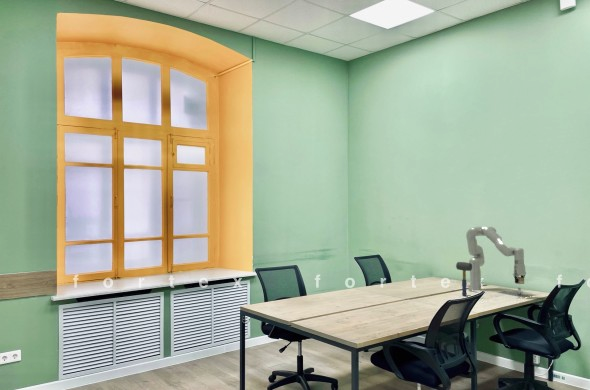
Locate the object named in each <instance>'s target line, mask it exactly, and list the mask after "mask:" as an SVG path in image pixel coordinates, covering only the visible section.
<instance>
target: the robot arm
mask: <svg viewBox="0 0 590 390" xmlns="http://www.w3.org/2000/svg"><path fill="white" fill-rule="evenodd" d="M481 236H485V237H486V238H487V239H489V240H490V242H492V243H493V244H494V246H495V248H496V249H497V250H498V251H499V252H500V253H501V254H502V255H503V256H504V257H513V256H514V257H513V258H514V265H513V273H512V275H513V277H514V283H515V284H516V283H519V282H518V277H523V278H524V279H525V276H526V274H527V273H526V265H525V256H524V255H525V251H524V248H521V247H511V246H510V247H508V246H507V245H505V244H504V242H503V238H502V236H501V235H499V234H498V232H497V229H496V228H495V227H493V226H474V227H471V228H469V229H468V230H467V232H466V236H465V237H466V242H467V249H468V253H469V255H470V256H473V257H471V258H470V259H469V261H468V263H471V264H472V270H471V271H469V284H468V285H467V286H466V288H468V291H469V290H471V291H470V292H473V291H481V290H483V289H482V271H481V270H482V269H481V267H482V266H484V264H485V261H486V260H485V255H484V254H485V253H484V250H483V247H482V246H481V245H479V244H478V240H477V237H481Z"/></svg>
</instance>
